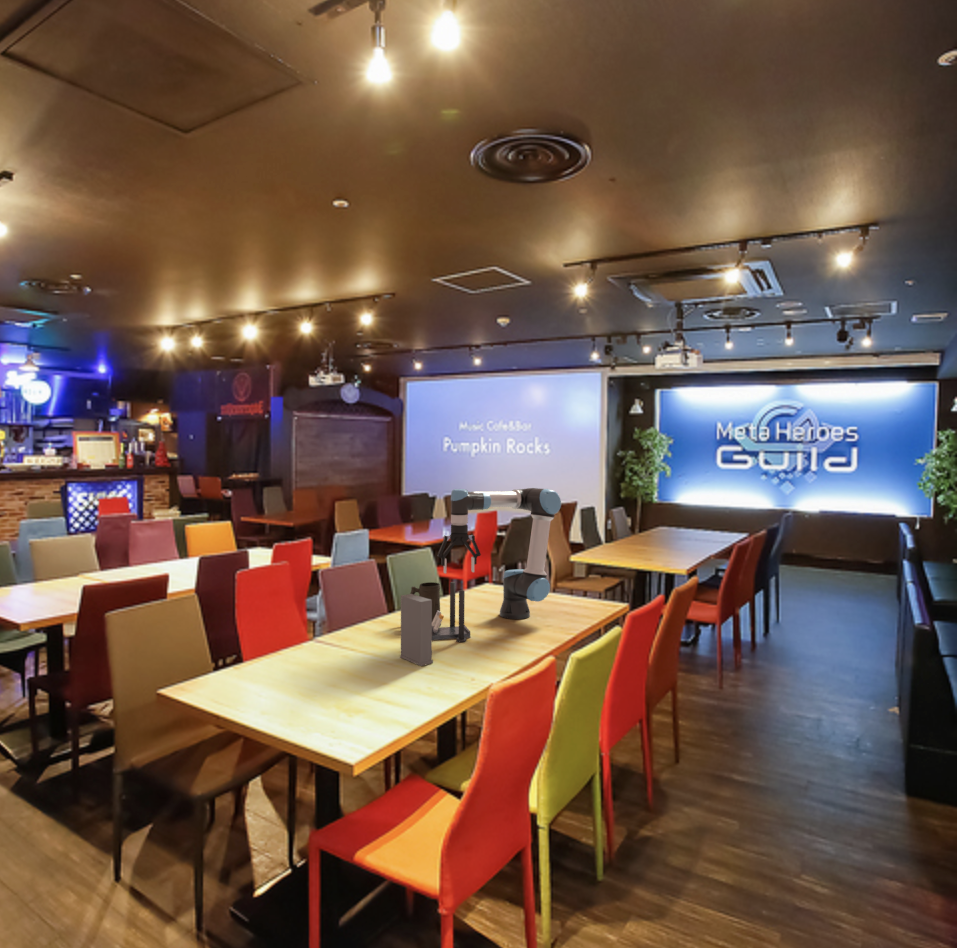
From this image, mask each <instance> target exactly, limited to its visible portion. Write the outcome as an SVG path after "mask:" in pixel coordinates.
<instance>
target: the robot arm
mask: <svg viewBox="0 0 958 948" xmlns="http://www.w3.org/2000/svg"><path fill="white" fill-rule="evenodd" d="M561 506H562V499H561V497H560V495H559V493H558V492H557V491H556V490H552V489H549V488H537V487H530V488H529V487H528V488H522V489H521V488H519V489H513V490H511V491H468V490H467V489H461V488H459V489H457V488H455V489H452V490H451V493H450V523H451V525H450V535H446V534H445V535H443V539H442V540H443V541H442V542H441V545H440V547H439V549H438V552H437V555H436V556H437V557H438V558H439V559H441V563H440V565H441V567H443V574H447V564H448V563H447V558H446V557H447V556H448V555H449V554H450V552H451V550H452V549H453V547H454V546H465V547H466V549H467V550H468V551H469V552H470V554H471V555H472V556H471V558H470V559H471V561H470V563H471V564H470V565H471V566H470V567H471V568H470V569H471V572H472V573H475V565H477V564H478V563H477V562H478V561H477V558H478V557H480V556H481V555H482V554H481V551H480V549H479V547H478V545H477V541H476V538H475V537H476V535H474V534H471V535H470V534H469V535H468V533H469V531H468V530H469V525H468V523H469V518H468V517H469V515H468V514H469V511H480V510H482V511H483V510H488V509H490V508H512V509H515V510H516V509H517V510H524V511H529V512H530V516H531V518H532V523H531V533H530V540H529V547H528V553H527V554H528V555H527V562H526V563H527V564H526V567H525V568H524V569H522V568H519V569H516V568H515V569H508V570H505V571H504V573H503V577H502V579H503V581H502V582H503V585H502V586H503V588H502V589H503V597H502V598H503V599H502V603H501V606H500V609H499V617H501V618H505V619H508V620H509V619H510V620H525V619H527V618H530V616H531V610H530V607H529V605H528V601H527V600H529V601H531V602H542V601H543V600H545V598H547V597H548V596H549V593H550V590H551V584H550V583H549V580H548V579H547V575H548V574H547V572H546V571H545V568H546V567H545V565H546V559H547V551H548V545H549V544H548V543H549V535H550V529H551V521H553V520H554V519H555V515H556V514H557V513H558V512H559V511H560V509H561V508H562V507H561ZM449 540H450V541H451V542H450V543H449V545H448V546H447V547H446V545H447V543H448V541H449ZM468 540H470V541H471V543H472V546H473V548H472V547H471V546H470V545H469V542H467V541H468ZM445 548H446V549H445Z"/></svg>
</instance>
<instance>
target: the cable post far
mask: <svg viewBox="0 0 958 948" xmlns="http://www.w3.org/2000/svg"><path fill="white" fill-rule="evenodd" d="M449 584H450V585H449V627H456V581H451V582H449Z"/></svg>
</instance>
